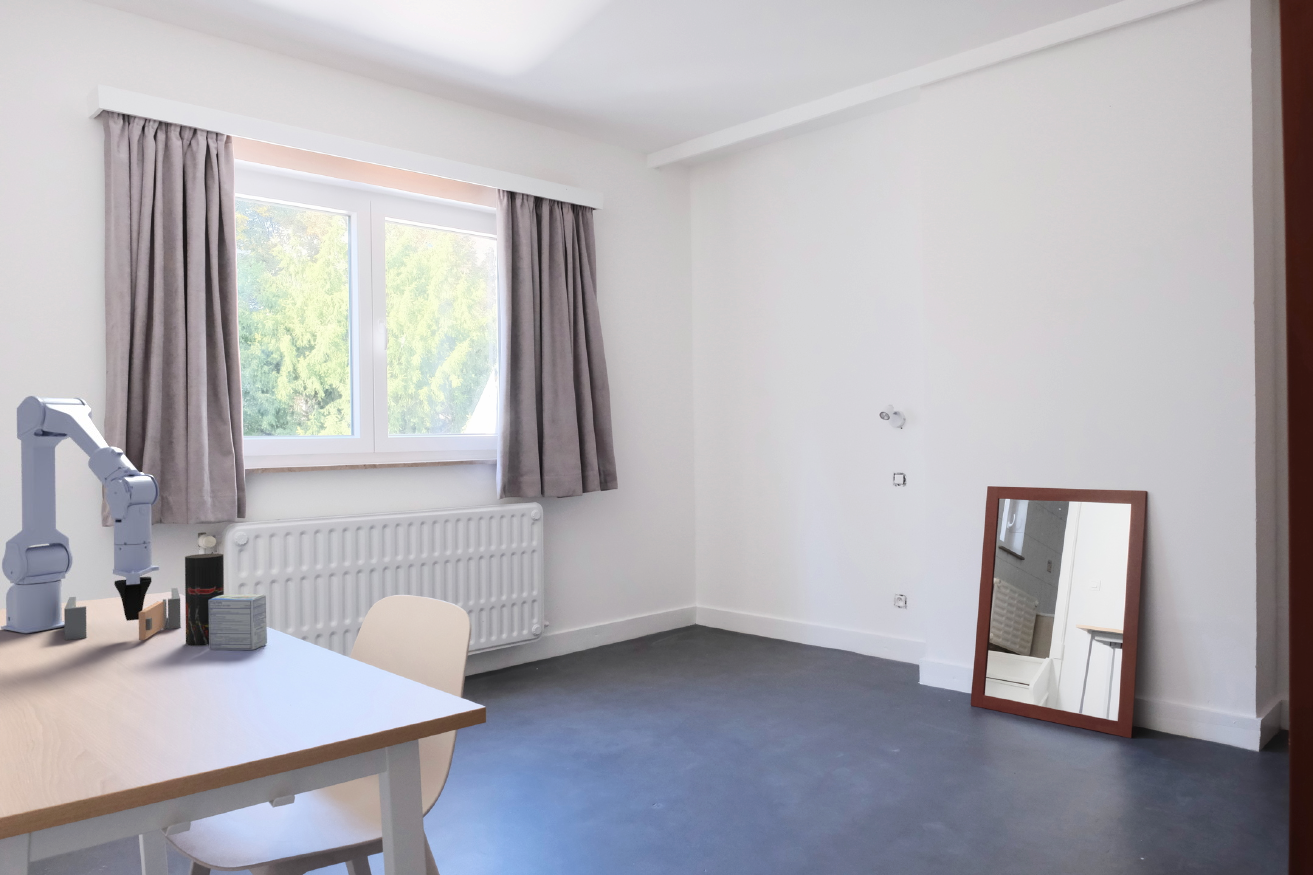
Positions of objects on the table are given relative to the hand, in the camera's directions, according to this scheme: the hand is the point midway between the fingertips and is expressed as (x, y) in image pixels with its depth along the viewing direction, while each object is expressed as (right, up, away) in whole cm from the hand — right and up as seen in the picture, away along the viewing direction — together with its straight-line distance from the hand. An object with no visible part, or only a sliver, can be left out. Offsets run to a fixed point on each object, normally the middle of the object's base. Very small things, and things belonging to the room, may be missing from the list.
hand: (133, 619), depth 153 cm
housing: (-8, -4, +10) cm, 13 cm away
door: (+3, -3, +2) cm, 4 cm away
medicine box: (+23, -3, -8) cm, 24 cm away
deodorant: (+15, -3, -3) cm, 15 cm away
